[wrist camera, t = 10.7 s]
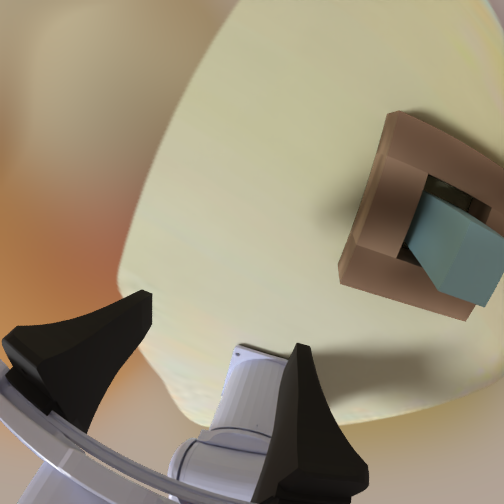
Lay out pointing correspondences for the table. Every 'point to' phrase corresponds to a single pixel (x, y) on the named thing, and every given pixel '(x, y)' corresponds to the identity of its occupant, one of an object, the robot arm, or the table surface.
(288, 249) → the table surface
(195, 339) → the table surface
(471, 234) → the bracket post
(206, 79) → the table surface
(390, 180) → the well block
